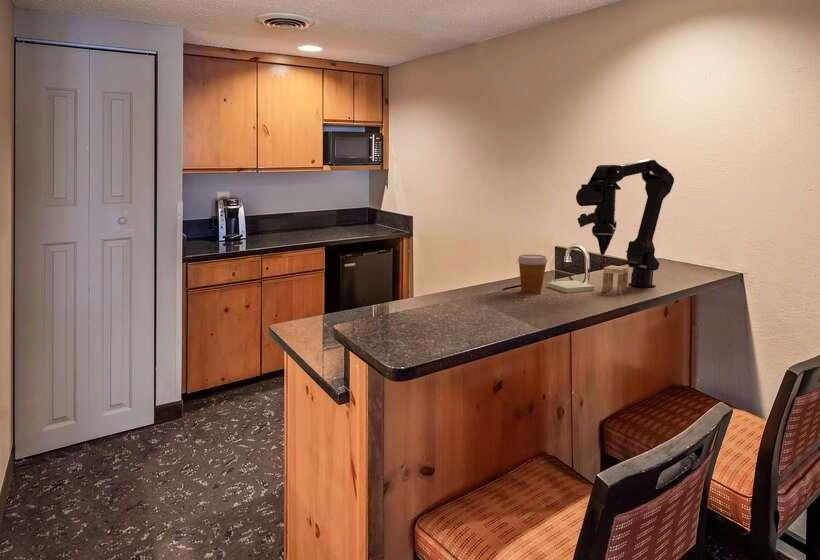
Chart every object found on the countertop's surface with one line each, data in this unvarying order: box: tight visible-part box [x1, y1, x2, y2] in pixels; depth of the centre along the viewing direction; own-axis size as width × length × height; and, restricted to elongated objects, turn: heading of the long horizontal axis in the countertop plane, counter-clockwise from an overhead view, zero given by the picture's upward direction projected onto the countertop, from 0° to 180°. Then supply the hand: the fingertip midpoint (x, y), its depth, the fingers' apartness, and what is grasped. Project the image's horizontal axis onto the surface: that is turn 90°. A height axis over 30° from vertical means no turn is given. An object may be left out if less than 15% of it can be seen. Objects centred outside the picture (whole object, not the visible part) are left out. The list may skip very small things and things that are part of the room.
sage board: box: [546, 279, 595, 294], centre depth 192 cm, size 11×11×2 cm
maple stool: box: [601, 265, 630, 295], centre depth 187 cm, size 6×6×8 cm
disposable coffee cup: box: [517, 253, 548, 295], centre depth 185 cm, size 10×10×12 cm
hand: (603, 252), depth 185 cm, fingers open, 9 cm apart
